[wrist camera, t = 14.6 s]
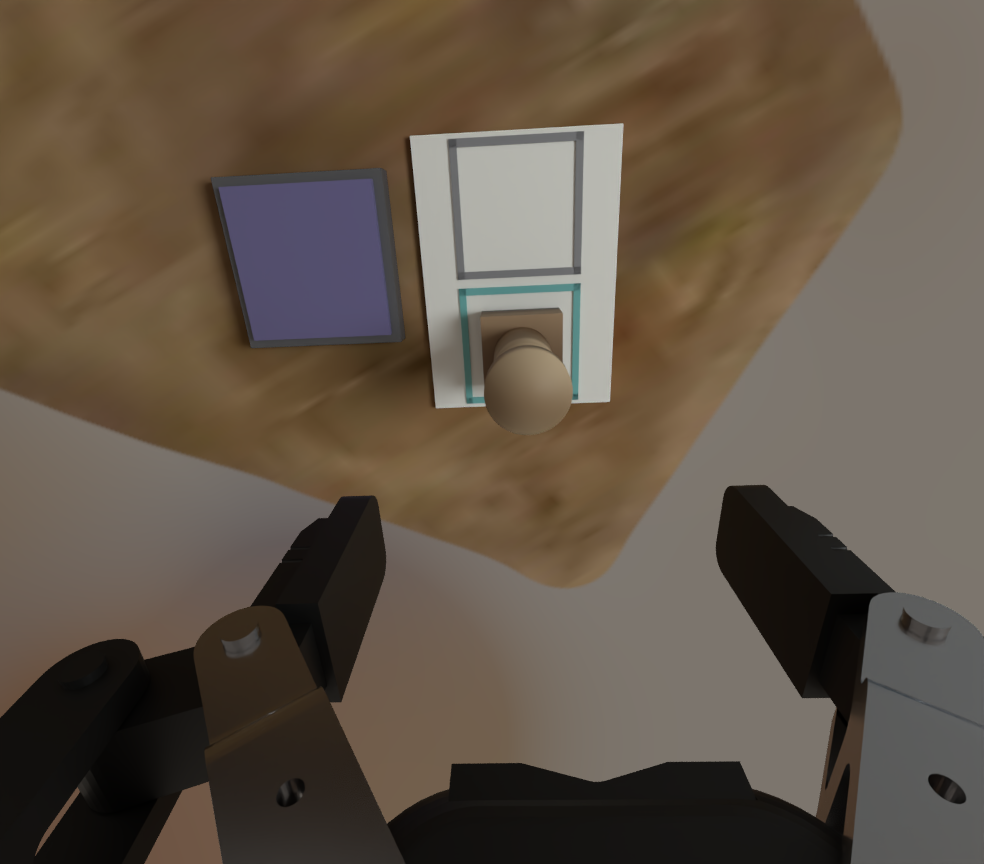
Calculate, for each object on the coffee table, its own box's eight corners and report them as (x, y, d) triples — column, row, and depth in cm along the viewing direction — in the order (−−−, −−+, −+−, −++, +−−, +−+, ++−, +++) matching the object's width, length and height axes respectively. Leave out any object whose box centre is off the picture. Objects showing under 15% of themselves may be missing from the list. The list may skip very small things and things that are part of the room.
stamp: (481, 311, 28) (472, 344, 20) (558, 307, 28) (582, 339, 20) (486, 384, 30) (478, 444, 22) (558, 381, 30) (579, 440, 21)
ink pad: (223, 179, 26) (206, 176, 25) (386, 170, 26) (379, 166, 24) (260, 343, 30) (247, 349, 28) (405, 337, 29) (400, 343, 28)
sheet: (410, 136, 25) (409, 135, 25) (622, 124, 25) (623, 122, 25) (436, 406, 31) (435, 408, 31) (608, 400, 31) (610, 402, 30)
